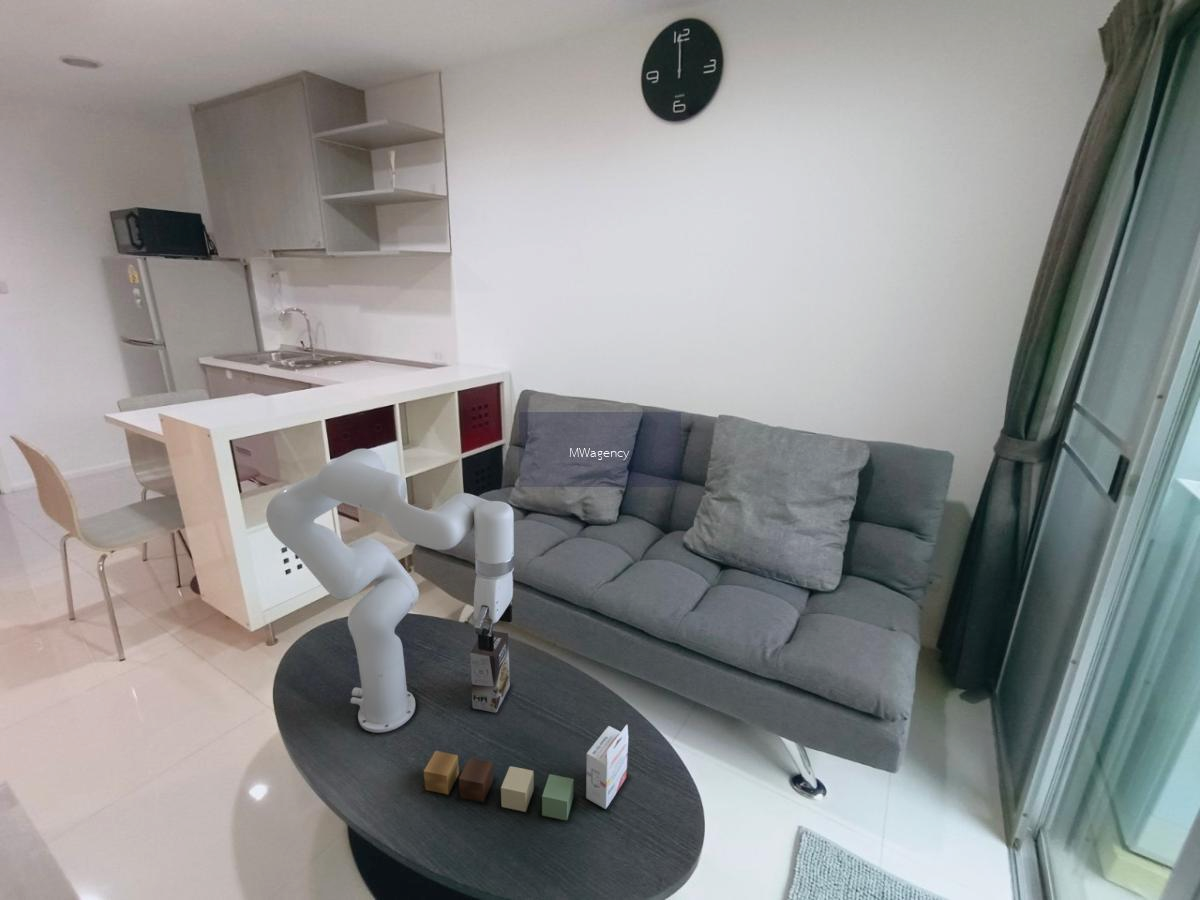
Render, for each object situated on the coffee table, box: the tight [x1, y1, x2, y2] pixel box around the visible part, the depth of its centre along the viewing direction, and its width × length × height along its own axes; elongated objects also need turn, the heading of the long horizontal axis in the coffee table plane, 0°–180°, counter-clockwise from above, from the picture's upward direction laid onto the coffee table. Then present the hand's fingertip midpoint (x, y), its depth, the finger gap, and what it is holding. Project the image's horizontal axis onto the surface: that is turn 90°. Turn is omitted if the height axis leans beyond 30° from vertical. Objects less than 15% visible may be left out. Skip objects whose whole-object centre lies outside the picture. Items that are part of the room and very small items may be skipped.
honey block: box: [423, 750, 460, 796], centre depth 112 cm, size 5×5×5 cm
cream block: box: [500, 765, 535, 813], centre depth 109 cm, size 5×5×5 cm
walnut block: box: [458, 757, 494, 803], centre depth 110 cm, size 5×5×5 cm
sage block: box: [541, 773, 575, 822], centre depth 107 cm, size 5×5×5 cm
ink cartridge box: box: [585, 724, 629, 810], centre depth 110 cm, size 9×5×15 cm, turn 148°
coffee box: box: [469, 630, 511, 714], centre depth 132 cm, size 9×6×16 cm
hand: (495, 634), depth 115 cm, fingers open, 9 cm apart
